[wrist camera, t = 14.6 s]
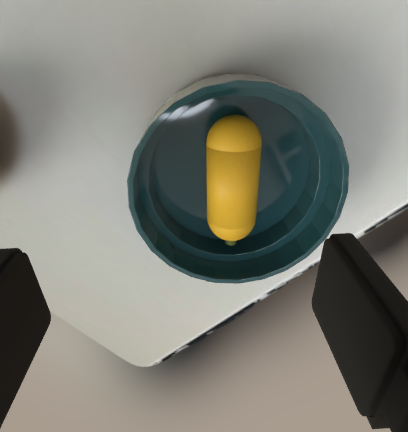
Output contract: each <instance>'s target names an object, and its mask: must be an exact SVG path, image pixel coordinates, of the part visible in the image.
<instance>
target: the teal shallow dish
mask: <svg viewBox="0 0 408 432" xmlns="http://www.w3.org/2000/svg"><path fill="white" fill-rule="evenodd" d="M228 115H241V116H245V117H247V118H249V119H250V120H251V121H253V122H254V123H255V125H256V126H257V127H258V129H259V131H260V134H261V138H262V148H261V161H260V174H259V186H258V199H257V212H256V221H255V225H254V227H253V229H252V231H251V232H250V233H249V234H248V235H247V236H246V237H244V238H242V239H240V240H236V244H235V245H227V244H226V243H225V240H223V239H221V238H219V237H217V236H216V235H215V234H214V233H213V232H212V230H211V229H210V227H209V224H208V221H207V166H206V142H207V136H208V132H209V130H210V129H211V127H212V126H213V125H214V123H215V122H216V121H218V120H219V119H221V118H222V117H224V116H228ZM348 176H349V163H348V160H347V156H346V152H345V148H344V145H343V141H342V138H341V136H340V135H339V133H338V131H337V130H336V128H335V127H334V125H333V124H332V122H331V121H330V119H329V117H328V116H327V114H326V113H325V112H323V111H322V110H321V109H320V108H318V107H317V106H316V105H315V104H314V103H312V102H311V101H310V100H309V99H307V98H306V97H305V96H304V95H302V94H300V93H298V92H296V91H294V90H292V89H289V88H287V87H285V86H283V85H280V84H278V83H275V82H273V81H270V80H268V79H265V78H263V77H260V76H257V75H247V74H234V73H227V74H223V75H218V76H213V77H209V78H204V79H202V80H199V81H197V82H195V83H193V84H191V85H189V86H187V87H186V88H184V89H182V90H180V91H178V92H177V93H175V94H174V95H173V96H172V97H171V98H170V99H169V100H168V101H167V102H166V103H165V104H164V105H163V106H162V107H161V108H160V109H159V110H158V111H157V112H156V114H155V116H154V117H153V119H152V121H151V122H150V124H149V126H148V128H147V129H146V131H145V133H144V135H143V136H142V138H141V140H140V142H139V144H138V146H137V148H136V149H135V151H134V154H133V158H132V162H131V167H130V171H129V175H128V180H127V185H128V204H129V209H130V212H131V215H132V218H133V220H134V223H135V226H136V229H137V231H138V233H139V234H140V235H141V237H142V238H143V240H144V241H145V243H146V244H147V245H148V247H149V248H150V250H151V251H152V252H153V253H155V254H156V255H157V256H158V257H159V258H161V259H162V260H163V261H164V262H165V263H166V264H168V265H169V266H170V267H172V268H174V269H176V270H178V271H180V272H182V273H184V274H186V275H188V276H190V277H194V278H198V279H202V280H206V281H210V282H215V283H244V282H250V281H256V280H262V279H265V278H268V277H270V276H273V275H276V274H278V273H281V272H284V271H286V270H288V269H289V268H291V267H293V266H294V265H296V264H297V263H299V262H300V261H302V260H303V259H305V258H307V256H309V255H310V254H311V253H312V252H313V251H314V250H315V249H316V248H317V247H318V246H319V245H320V244H321V243H322V242H323V241H324V240H325V239H326V238H327V236H328V235H329V233H330V231H331V230H332V228H333V227H334V225H335V224H336V222H337V220H338V219H339V217H340V214H341V211H342V208H343V205H344V202H345V199H346V196H347V193H348Z"/></svg>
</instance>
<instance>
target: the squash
mask: <svg viewBox="0 0 408 432" xmlns="http://www.w3.org/2000/svg"><path fill="white" fill-rule="evenodd" d="M261 148H262V138H261V134H260V131H259V129H258V127H257V126H256V125H255V123H254V122H253V121H251V120H250V119H249V118H247V117H245V116H241V115H228V116H224V117H222V118H221V119H219V120H218V121H216V122H215V123H214V125H213V126H212V127H211V129H210V130H209V132H208V136H207V142H206V166H207V221H208V224H209V227H210V229H211V230H212V232H213V233H214V234H215V235H216V236H217V237H219V238H221V239H223V240H225V243H226V244H227V245H235V244H236V240H240V239H242V238H244V237H246V236H247V235H248V234H249V233H250V232H251V231H252V229H253V227H254V225H255V221H256V212H257V199H258V186H259V174H260V161H261Z"/></svg>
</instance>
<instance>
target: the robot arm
mask: <svg viewBox="0 0 408 432" xmlns="http://www.w3.org/2000/svg"><path fill="white" fill-rule="evenodd" d="M312 308H313V311H314V313H315V316H316V318H317V320H318V322H319V325H320V327H321V329H322V331H323V333H324V336H325V338H326V340H327V342H328V344H329V347H330V349H331V351H332V353H333V355H334V358H335V360H336V362H337V364H338V367H339V369H340V371H341V373H342V376H343V378H344V380H345V382H346V384H347V387H348V389H349V391H350V393H351V396H352V398H353V400H354V402H355V405H356V407H357V409H358V411H359V413H360V414H361V415H362V416H367V418H368V421H369V423H370V425H371V427H372V429H380V428H390V429H391V431H392V432H408V301H407V300H406V299H405V298H404V296H403V295H402V294H401V293H400V292H399V290H398V289H397V288H396V287H395V285H394V284H393V283H392V282H391V281H390V279H389V278H388V277H387V276H386V274H385V273H384V272H383V271H382V269H381V268H380V267H379V266H378V265H377V263H376V262H375V261H374V260H373V258H372V257H371V256H370V255H369V253H368V252H367V251H366V250H365V249H364V247H363V246H362V245H361V244H360V242H359V241H358V240H357V239H356V238H355V236H354V235H353V234H351V233H345V234H332V235H331V236H330V238H329V239H326V240H325V242H324V246H323V250H322V255H321V260H320V264H319V269H318V274H317V279H316V283H315V288H314V292H313V297H312ZM50 321H51V314H50V311H49V308H48V306H47V303H46V301H45V298H44V295H43V293H42V290H41V288H40V285H39V283H38V280H37V278H36V275H35V273H34V270H33V268H32V265H31V263H30V260H29V257H28V255H27V254H26V253H22V251H21V250H20V249H18V248H10V249H0V428H1V426H2V423H3V421H4V419H5V417H6V415H7V413H8V411H9V409H10V406H11V404H12V402H13V400H14V398H15V396H16V394H17V392H18V390H19V388H20V386H21V383H22V381H23V379H24V377H25V375H26V373H27V371H28V369H29V367H30V364H31V362H32V360H33V358H34V356H35V354H36V352H37V350H38V348H39V346H40V343H41V341H42V339H43V337H44V335H45V333H46V331H47V329H48V327H49V324H50Z"/></svg>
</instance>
